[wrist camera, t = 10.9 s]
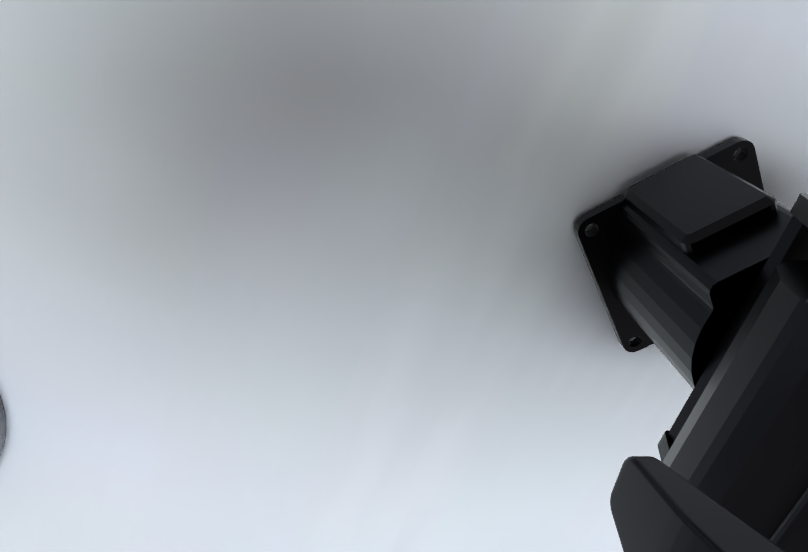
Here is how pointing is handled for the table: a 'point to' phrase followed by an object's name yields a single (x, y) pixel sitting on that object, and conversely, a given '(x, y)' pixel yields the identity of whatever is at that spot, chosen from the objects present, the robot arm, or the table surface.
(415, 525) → the table surface
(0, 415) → the collar
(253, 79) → the table surface
